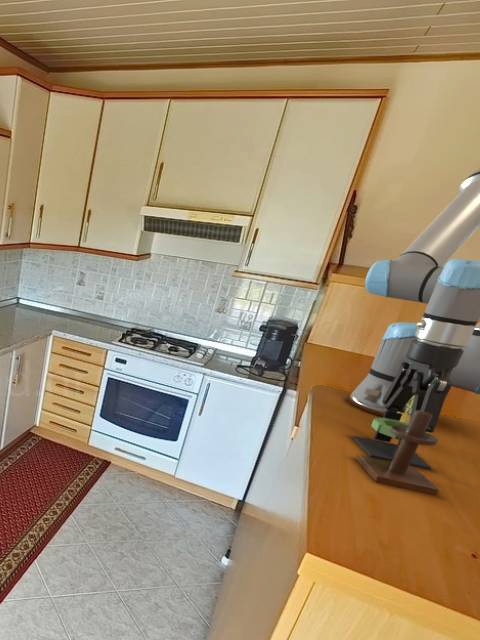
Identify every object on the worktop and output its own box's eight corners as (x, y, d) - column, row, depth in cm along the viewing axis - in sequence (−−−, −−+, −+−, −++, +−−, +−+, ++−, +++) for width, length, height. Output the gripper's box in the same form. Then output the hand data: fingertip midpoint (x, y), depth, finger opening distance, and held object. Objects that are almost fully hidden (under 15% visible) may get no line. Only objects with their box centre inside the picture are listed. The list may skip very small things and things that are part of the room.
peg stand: (356, 460, 95) (382, 399, 91) (411, 472, 93) (441, 409, 88) (375, 481, 87) (405, 416, 83) (436, 495, 85) (470, 428, 80)
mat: (352, 437, 107) (352, 435, 106) (406, 448, 104) (407, 446, 103) (370, 456, 98) (371, 454, 97) (430, 469, 95) (431, 467, 95)
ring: (365, 421, 104) (368, 414, 104) (412, 430, 102) (415, 423, 101) (382, 436, 97) (385, 429, 96) (433, 446, 94) (436, 439, 94)
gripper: (390, 328, 103) (351, 425, 111) (444, 352, 84) (391, 467, 92) (433, 335, 101) (390, 433, 109) (498, 361, 82) (440, 477, 90)
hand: (390, 448), depth 100 cm, fingers closed on ring, 8 cm apart
